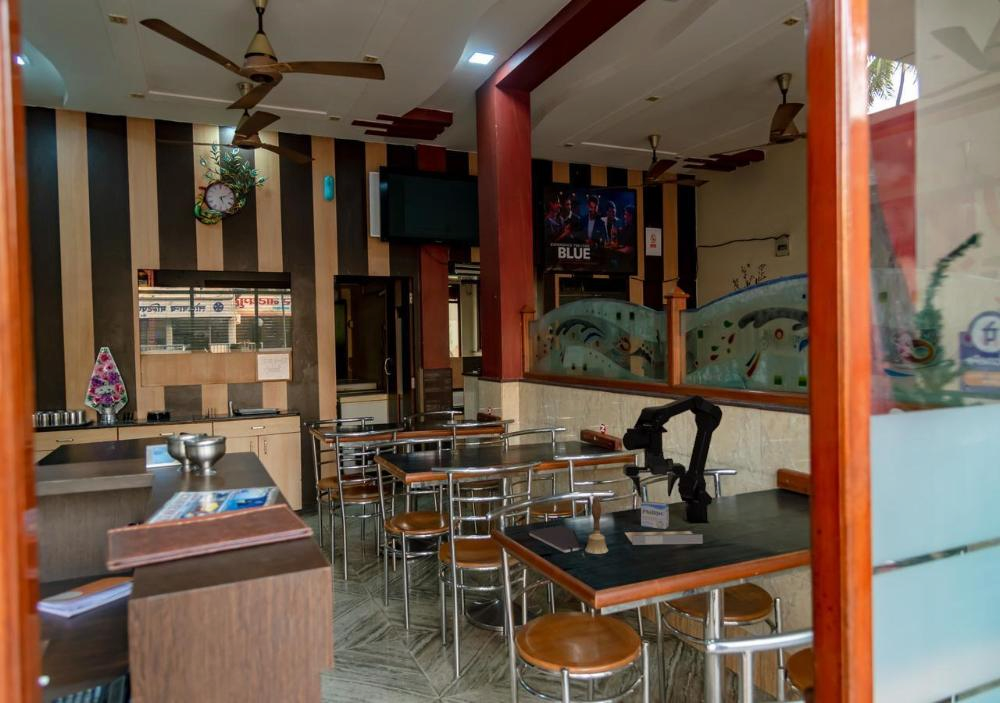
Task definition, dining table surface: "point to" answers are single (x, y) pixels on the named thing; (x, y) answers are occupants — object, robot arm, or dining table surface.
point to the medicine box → (655, 514)
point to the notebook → (558, 538)
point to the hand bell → (596, 532)
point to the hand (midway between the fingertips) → (654, 496)
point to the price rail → (667, 539)
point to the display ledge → (655, 534)
